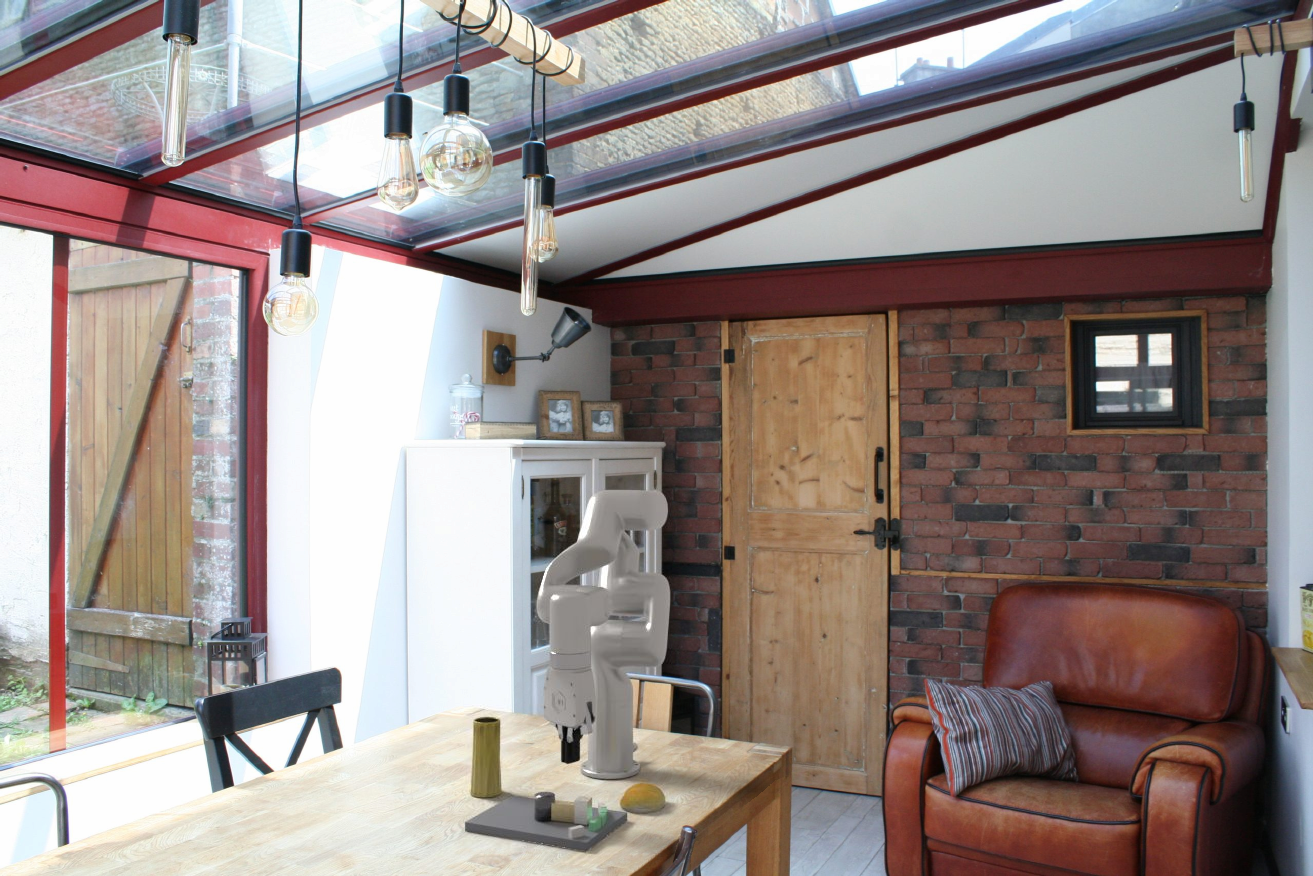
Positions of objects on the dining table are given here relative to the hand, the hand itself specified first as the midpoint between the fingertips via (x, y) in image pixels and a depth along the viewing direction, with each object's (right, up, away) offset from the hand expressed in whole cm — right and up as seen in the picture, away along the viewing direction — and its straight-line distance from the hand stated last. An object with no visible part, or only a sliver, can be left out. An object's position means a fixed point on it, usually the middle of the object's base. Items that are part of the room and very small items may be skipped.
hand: (570, 761), depth 178 cm
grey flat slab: (-4, -10, -3) cm, 12 cm away
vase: (-18, -11, +15) cm, 26 cm away
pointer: (-1, -9, -5) cm, 10 cm away
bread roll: (+13, -11, +8) cm, 19 cm away
